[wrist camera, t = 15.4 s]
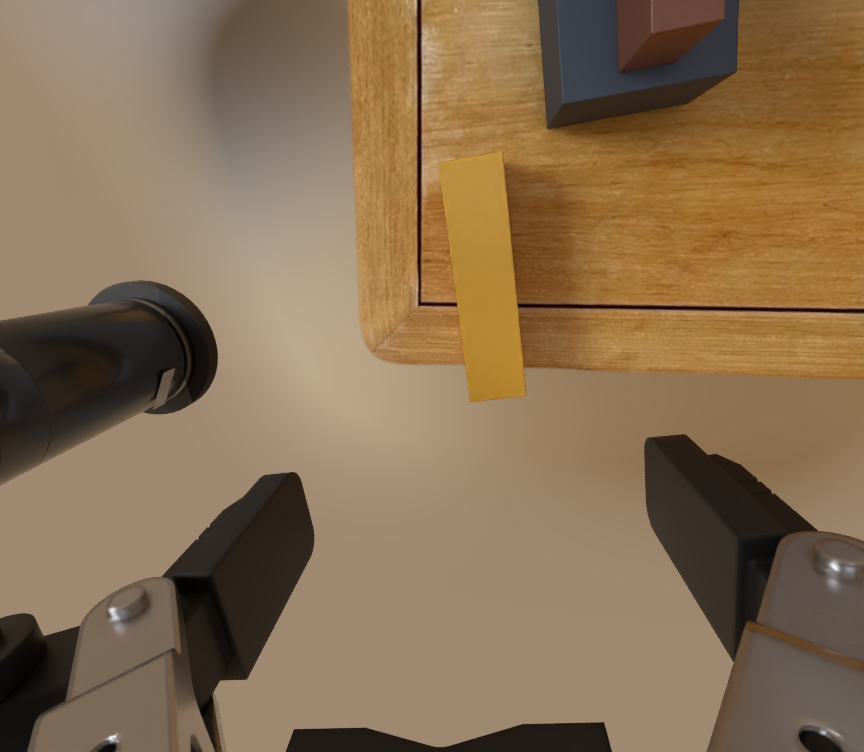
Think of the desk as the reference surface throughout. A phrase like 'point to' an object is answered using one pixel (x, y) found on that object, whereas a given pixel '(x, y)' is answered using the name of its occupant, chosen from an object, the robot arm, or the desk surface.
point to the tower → (632, 54)
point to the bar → (484, 275)
